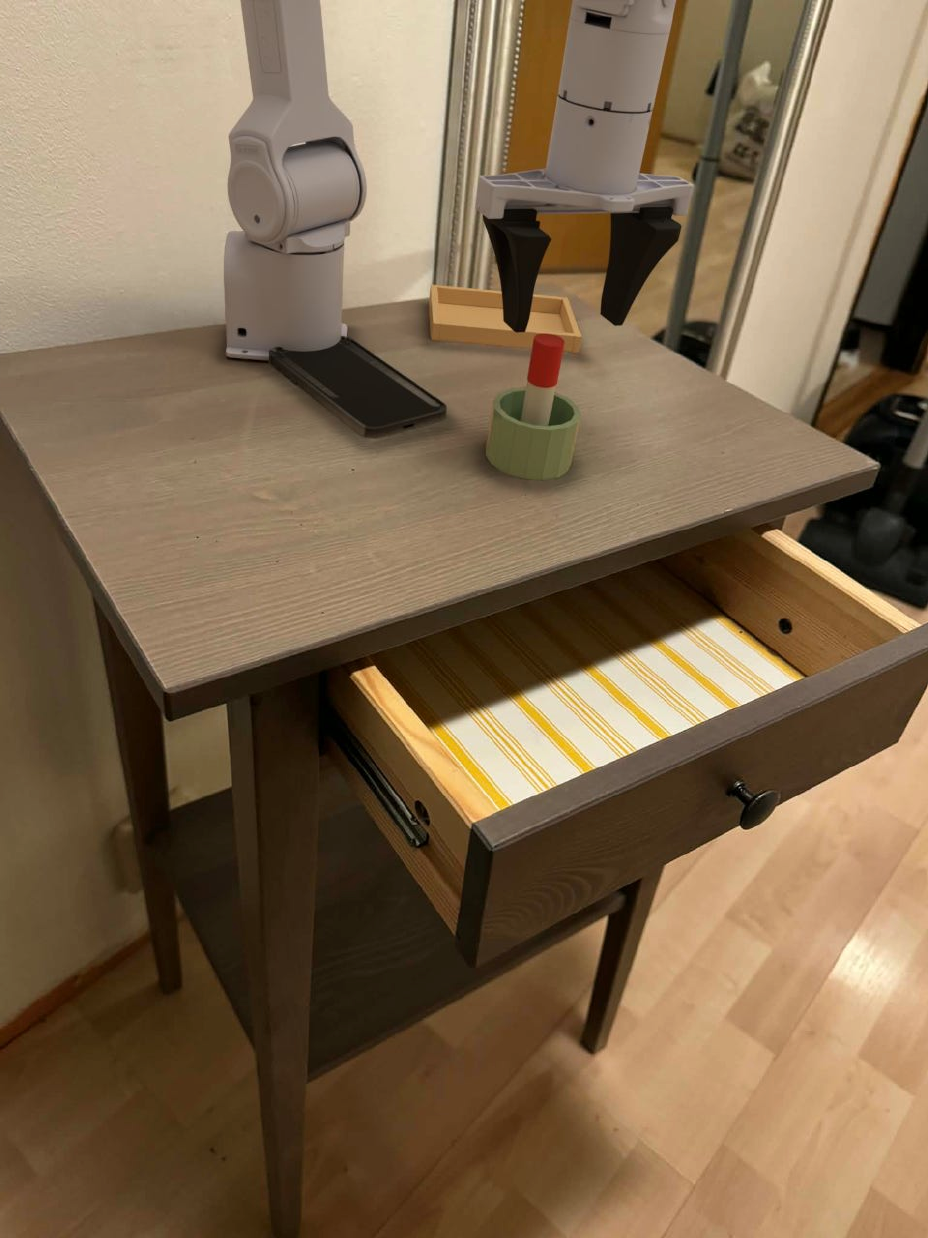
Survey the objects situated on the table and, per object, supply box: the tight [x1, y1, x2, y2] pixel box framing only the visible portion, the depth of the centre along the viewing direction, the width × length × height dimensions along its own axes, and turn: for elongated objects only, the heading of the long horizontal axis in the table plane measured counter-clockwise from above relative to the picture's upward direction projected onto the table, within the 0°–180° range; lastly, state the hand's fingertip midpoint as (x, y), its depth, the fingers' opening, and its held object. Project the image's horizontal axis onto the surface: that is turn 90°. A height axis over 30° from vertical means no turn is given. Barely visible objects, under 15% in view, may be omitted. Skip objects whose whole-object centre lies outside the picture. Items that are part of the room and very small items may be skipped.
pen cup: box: [485, 386, 582, 481], centre depth 68 cm, size 6×6×4 cm
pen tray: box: [428, 284, 582, 354], centre depth 87 cm, size 13×9×2 cm
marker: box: [521, 333, 565, 426], centre depth 66 cm, size 2×2×9 cm
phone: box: [268, 336, 448, 439], centre depth 74 cm, size 8×1×15 cm
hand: (563, 323), depth 64 cm, fingers open, 7 cm apart
